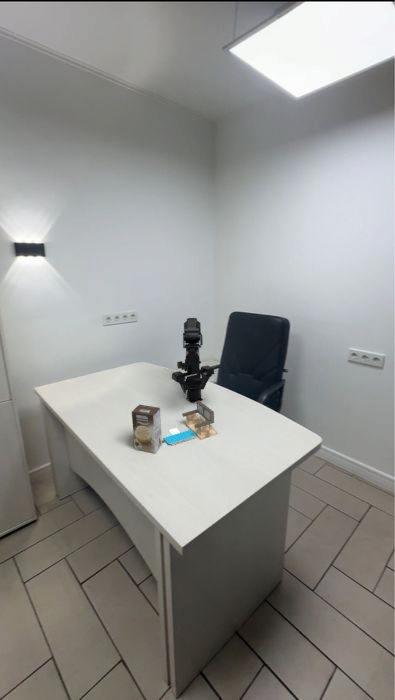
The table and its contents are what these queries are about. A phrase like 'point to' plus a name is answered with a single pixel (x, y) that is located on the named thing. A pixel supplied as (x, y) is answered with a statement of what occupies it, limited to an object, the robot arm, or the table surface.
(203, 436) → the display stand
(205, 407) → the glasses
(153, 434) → the coffee box
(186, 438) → the blue flat piece
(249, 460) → the table surface
